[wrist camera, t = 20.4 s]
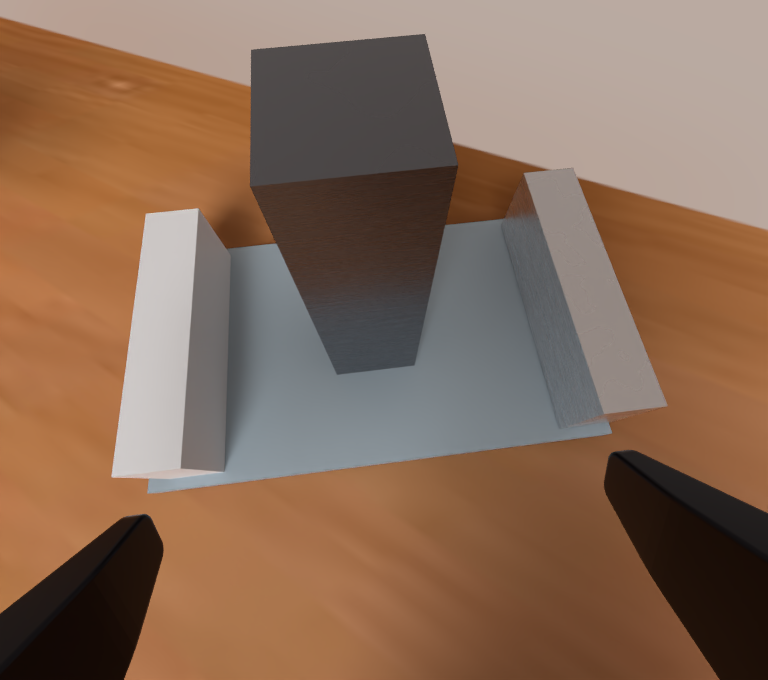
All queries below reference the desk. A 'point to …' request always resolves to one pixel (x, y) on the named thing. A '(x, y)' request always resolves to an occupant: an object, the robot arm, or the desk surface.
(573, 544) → the desk surface
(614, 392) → the bar
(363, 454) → the vise base
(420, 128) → the steel block
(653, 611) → the desk surface
